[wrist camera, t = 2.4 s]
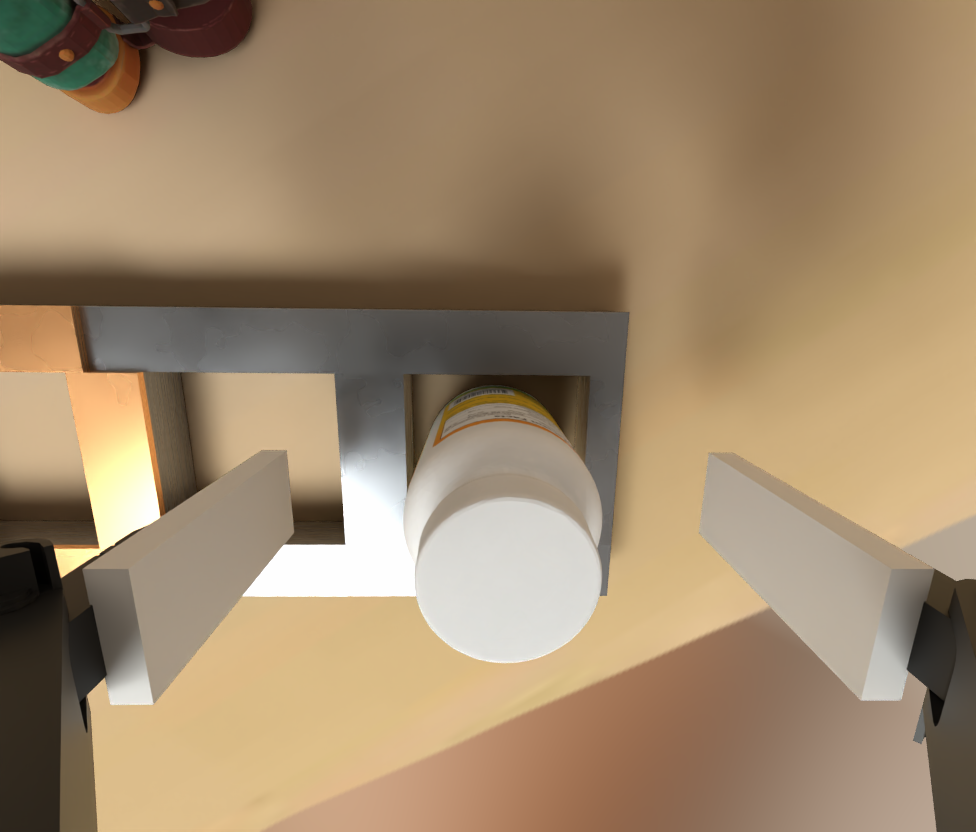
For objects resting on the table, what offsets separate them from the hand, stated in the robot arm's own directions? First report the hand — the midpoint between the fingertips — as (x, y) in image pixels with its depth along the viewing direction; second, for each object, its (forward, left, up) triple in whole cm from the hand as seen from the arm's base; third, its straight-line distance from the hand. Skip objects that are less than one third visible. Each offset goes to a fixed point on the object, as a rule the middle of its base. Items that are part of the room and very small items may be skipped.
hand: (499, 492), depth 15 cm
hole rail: (-9, 0, -5) cm, 10 cm away
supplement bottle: (0, 0, -5) cm, 5 cm away
